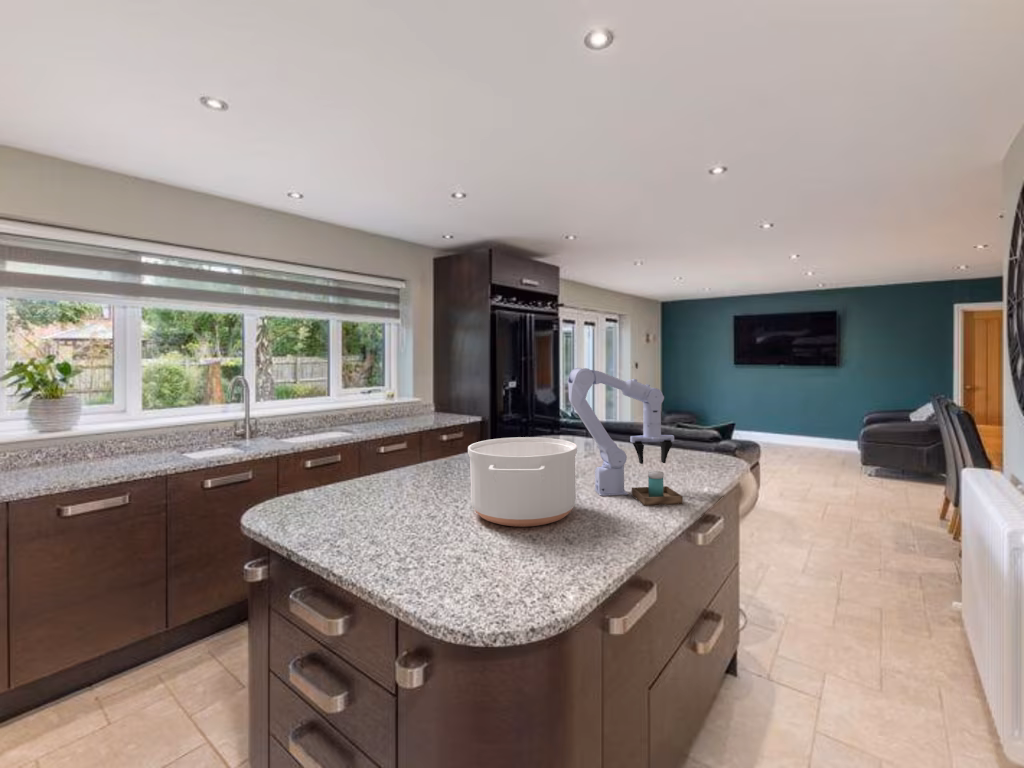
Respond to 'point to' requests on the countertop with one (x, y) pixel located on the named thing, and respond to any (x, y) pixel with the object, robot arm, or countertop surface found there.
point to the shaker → (656, 483)
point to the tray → (668, 499)
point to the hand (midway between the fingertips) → (652, 462)
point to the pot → (522, 480)
